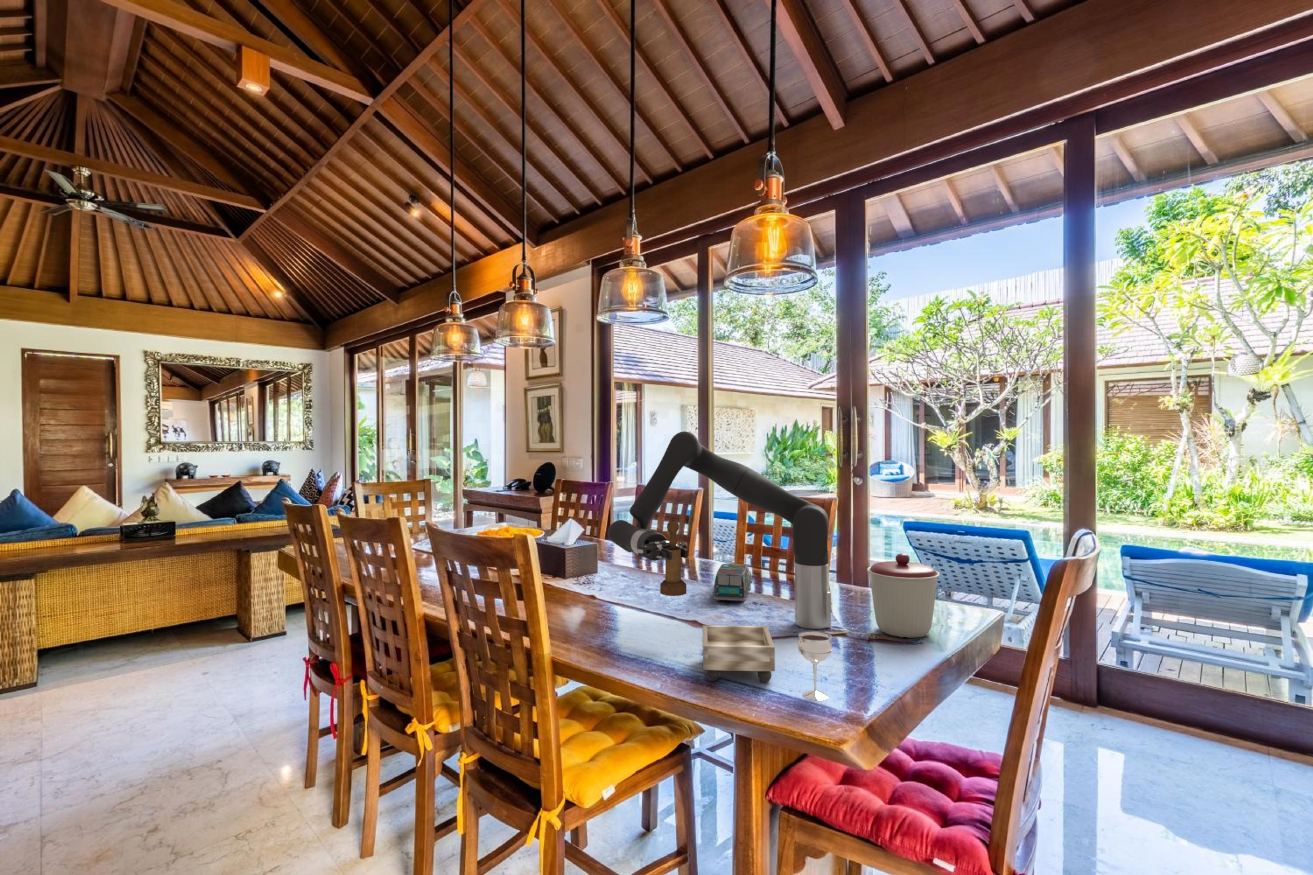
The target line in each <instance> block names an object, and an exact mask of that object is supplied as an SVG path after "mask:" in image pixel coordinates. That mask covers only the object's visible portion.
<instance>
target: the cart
mask: <svg viewBox="0 0 1313 875" xmlns="http://www.w3.org/2000/svg"><path fill="white" fill-rule="evenodd" d="M775 648H776V647H775V644H774V642H773V639H772V635H771V634H770V631H769V628H768V626H763V625H762V626H761V625H758V626H757V625H702V669H703V671H705V677H706V679H707V680H708V681H710V682H716V681H717V680H718V679H719V678H720V671H737V672H738V671H739V672H740V671H741V672H742V671H743V672H744V671H745V672H748V671H749V672H756V674H757V675H756V676H757V679H758V680H759V681H760V682H761V683H768V682H769V681H770V680H772V672H776V666H775V665H776V663H775V662H776V661H775V659H776V658H775V657H776V655H775V654H776V652H775V651H776V650H775Z"/></svg>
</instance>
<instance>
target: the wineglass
mask: <svg viewBox="0 0 1313 875" xmlns="http://www.w3.org/2000/svg"><path fill="white" fill-rule="evenodd" d="M797 636H798V638H799V639H798V642H797V648H798V652H799V654H800V655H801V656H802V657H803V658H804V659H805V660H808V661H809V662H810V663H811V664H812V669H813V671H812V672H813V686H814V687H813V689H812V690H805V691H804V692H803V693H802V696H803V697H804V698H805V699H808V700H811V701H824V700H826V699H829V695H828V694H827V693H826V692H824V691H820V690H817V681H818V680H817V678H818V677H817V674H818V672H817V671H818V665H819V664H820V663H821V662H824V661H826V660H827V658H829V657H830V656H831V655H832V654H831V653H832V651H833V644H832V642H831V640H832V638H833V637H832V635H831V634H830V633H828V632H825V631H820V630H804V631H803V630H802V631H799V632H798V633H797Z"/></svg>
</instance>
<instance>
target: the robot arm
mask: <svg viewBox="0 0 1313 875" xmlns="http://www.w3.org/2000/svg"><path fill="white" fill-rule="evenodd" d="M683 467H685V468H687V469H690V470H691V471H694V472H696V473H698V474H700V475H702V476H705V477H706V478H708V479H710V480H711V481H712V482H713V483H715V484H716V485H718V486H719V487H721V488H722V489H723V490H725V491H727V492H729V493H730V494H732V495H733V496H734V497H736V498H737V499H739V500H741V501H743V502H745V503H747V504H749V505H751V506H753V507H756V508H759V509H761V510H764V511H767V512H770V513H773V514H775V515H777V516H779V517H781V518H782V519H784V520H785V521H787V522H789V523H790V524H791V525H792V541H793V542H792V543H793V544H792V546H793V556H794V624H795V625H796V626H798V627H800V628H803V629H811V630H812V629H814V630H820V629H826V628H827V629H828V628H832V627H831V626H832V621H831V620H832V616H831V615H832V614H831V612H832V610H831V608H832V607H831V604H832V603H831V599H832V598H831V595H832V594H831V592H830V590H829V588H830V586H829V581H830V580H829V576H830V575H829V573H830V572H829V550H828V546H829V545H828V528H829V523H830V522H829V521H830V520H829V515H828V513H827V512H826V510H825V509H824V508H822V507H821V506H820V505H818V504H815V503H812V502H810V501H807V500H805V499H803V498H801V497H799V496H796V495H794V494H792V493H791V492H788V491H787V490H785V489H784V488H782V487H781V486H780V485H778V484H777V483H776V482H774V481H772V480H771V479H769V478H767V477H766V476H765V475H762V474H761V473H759V472H758V471H756V470H754V469H752V468H750V467H749V466H746V465H745V464H742V463H740V462H737V461H733V460H730V459H727V458H725V457H722V456H720V455H717V454H715V453H714V452H713V451H712V450H710V449H708V448H707V447H705V446H704V445H703V444H701V443H700V441H699V440H698V438H697V436H696V435H695V434H693V433H692V432H690V431H680V432H677V433H676V434H675V435H673V436H672V438H671V439H670V441H669V444H668V446H667V447H666V449H665V452H664V454H663V456H662V458H661V460H660V461H659V463H658V466H657V468H656V469H655V471H654V473H652V475H651V477H650V479H649V480H648V482H647V484H646V485H645V486H644V487H643V489H642V491H641V492H640V493H639V495H638V496H637V497H636V498H635V501H634V502H633V503H632V505H631V506H630V508H629V513H630V515H631V516H632V517H633V519H635V525H634V524H632V523H630V522H628V521H626V520H624V519H618V520H615V521H614V522H612V523H611V524H610V525H609V527H608V529H607V537H608V539H609V540H610V542H612V543H613V544H615V545H616V546H618V547H619V548H621V549H623V550H625V551H626V552H628V553H635V554H636V555H637V556H638V557H642V558H644V559H647V560H648V561H649V560H650V561H652V562H657V561H660V560H662V559H665V560H666V559H667V560H671V559H672V552H671V551H670V550H667V549H666V548H668V547H670V544H669V539H667V536H665V535H664V534H663V533H661V532H658V531H654V530H653V529H648V527H649V525H650V523H651V520H652V519H653V517H654V516H655V514H656V513H657V512H658V510H659V509H660V507H661V506H662V504H663V502H664V500H665V498H666V496H667V494H668V492H669V490H670V488H671V485H672V484H673V482H674V480H675V479H676V476H677V475H678V474H679V472H681V470H682V469H683ZM676 547H678V548H681V559H687V558H689V550H688V544H687V543H686V542H684V541H680V542H678V544H677V545H676Z"/></svg>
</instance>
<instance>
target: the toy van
mask: <svg viewBox="0 0 1313 875" xmlns="http://www.w3.org/2000/svg"><path fill="white" fill-rule="evenodd" d="M752 583H753V581H752V572H751V571H750V568H749V566H748V564H742V563H722V564H721V565H720V567H719V568H718V570H717V571H716V574H715V578H714V583H713V600H715V601H716V602H720V601H736V602H738V601H740V602H741V603H743V602H745V601H746V602H747V599H748V598H747V595H748V593H749V591H751V590H752V589H751V586H752V585H751V584H752ZM746 602H745V603H746Z"/></svg>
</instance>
